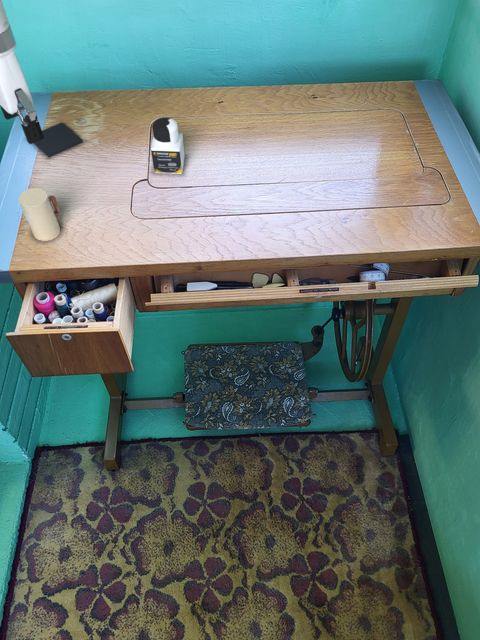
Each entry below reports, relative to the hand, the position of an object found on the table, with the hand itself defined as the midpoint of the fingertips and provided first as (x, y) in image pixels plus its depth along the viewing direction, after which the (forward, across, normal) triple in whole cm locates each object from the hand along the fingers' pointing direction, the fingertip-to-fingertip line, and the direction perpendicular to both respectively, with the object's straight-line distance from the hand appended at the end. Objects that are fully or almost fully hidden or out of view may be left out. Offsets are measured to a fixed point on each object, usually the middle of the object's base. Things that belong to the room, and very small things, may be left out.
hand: (24, 128), depth 103 cm
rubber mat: (+24, -27, +14) cm, 38 cm away
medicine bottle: (+24, 0, +32) cm, 40 cm away
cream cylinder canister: (+24, +2, -4) cm, 24 cm away
